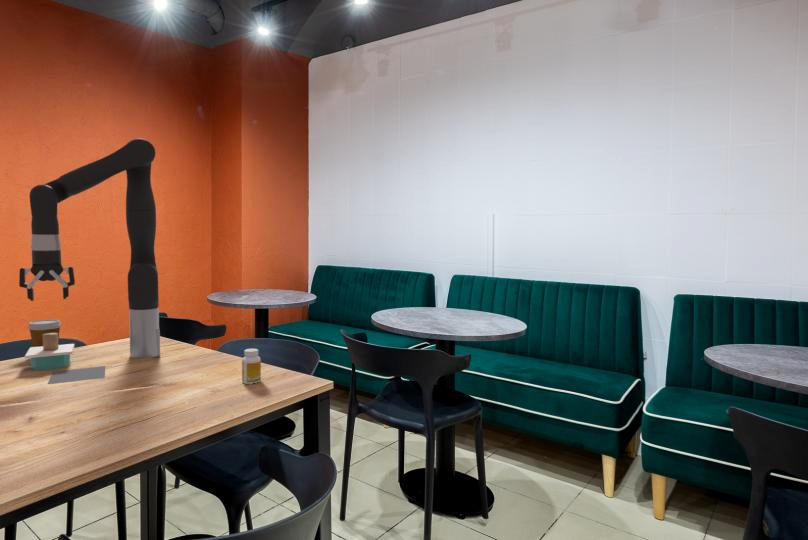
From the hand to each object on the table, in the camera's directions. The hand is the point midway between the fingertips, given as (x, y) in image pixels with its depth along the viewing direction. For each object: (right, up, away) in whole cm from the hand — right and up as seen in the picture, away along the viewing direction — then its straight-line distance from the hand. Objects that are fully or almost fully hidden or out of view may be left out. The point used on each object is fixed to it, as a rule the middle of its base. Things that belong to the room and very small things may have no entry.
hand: (48, 299), depth 158 cm
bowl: (0, -22, +2) cm, 22 cm away
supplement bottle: (+68, -24, -9) cm, 72 cm away
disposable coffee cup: (-12, -21, +16) cm, 29 cm away
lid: (0, -17, +1) cm, 17 cm away
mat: (+14, -23, -7) cm, 28 cm away
